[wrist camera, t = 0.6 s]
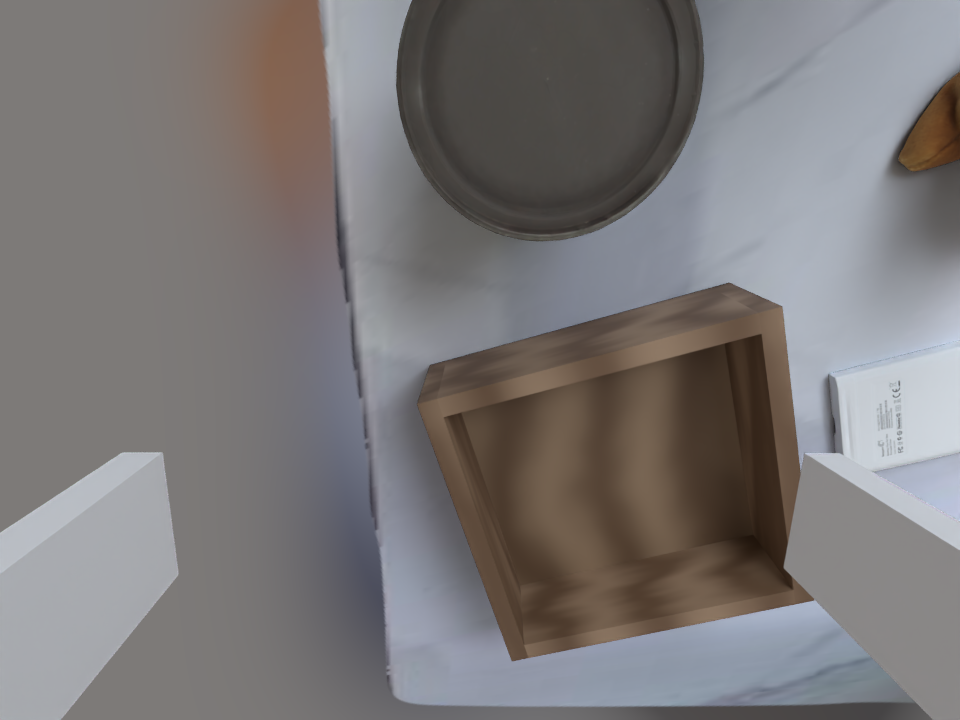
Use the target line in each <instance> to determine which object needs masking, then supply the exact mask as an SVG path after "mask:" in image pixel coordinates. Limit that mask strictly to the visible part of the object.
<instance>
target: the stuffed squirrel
mask: <svg viewBox="0 0 960 720" xmlns="http://www.w3.org/2000/svg"><path fill="white" fill-rule="evenodd" d="M958 159H960V72H959V73H958V74H956V75H955V76H954V77H953V78H952V79H951V80H949V81H948V82H947V83H946V84H945V85H944V87H943V88H942V89H941V90H940V91H939V93H938V94H937V95H936V96H935V98H934V99H933V101H932V102H931V103H930V104H929V106H928V107H927V109H926V110H925V112H924V113H923V114H922V116H921V117H920V119H919V120H918V122H917V123H916V125H915V127H914V128H913V130H912V132H911V134H910V135H909V137H908V139H907V141H906V143H905V146H904V147H903V149H902V151H901V152H900V154H899V159H898V160H899V162H900V163H902V164H903V165H904V166H905V167H906V168H907V169H909V170H910V171H920V170H926V169H929V168H934V167H937V166H941V165H944V164H947V163H950V162H953V161H955V160H958Z"/></svg>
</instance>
